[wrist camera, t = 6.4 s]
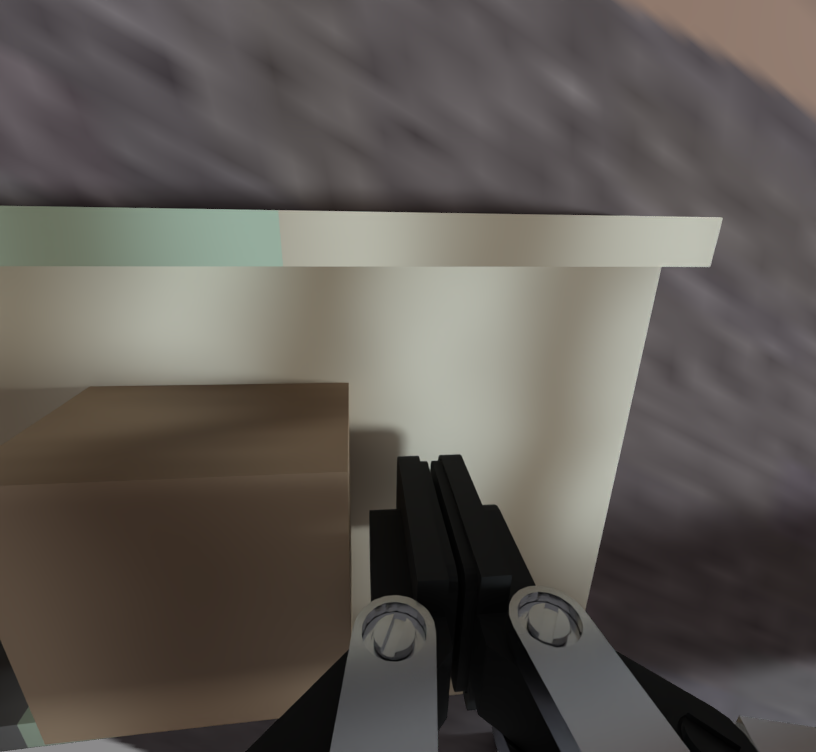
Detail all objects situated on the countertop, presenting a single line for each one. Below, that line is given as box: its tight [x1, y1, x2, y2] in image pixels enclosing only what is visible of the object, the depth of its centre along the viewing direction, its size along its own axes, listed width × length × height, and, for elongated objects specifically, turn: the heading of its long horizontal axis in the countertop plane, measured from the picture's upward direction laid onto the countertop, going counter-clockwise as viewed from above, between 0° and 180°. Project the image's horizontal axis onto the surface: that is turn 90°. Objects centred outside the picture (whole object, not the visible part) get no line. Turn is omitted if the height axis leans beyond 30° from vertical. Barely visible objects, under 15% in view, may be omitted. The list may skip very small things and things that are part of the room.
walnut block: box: [0, 383, 352, 745], centre depth 10 cm, size 6×6×4 cm
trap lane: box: [0, 206, 723, 751], centre depth 12 cm, size 23×14×4 cm, turn 89°
